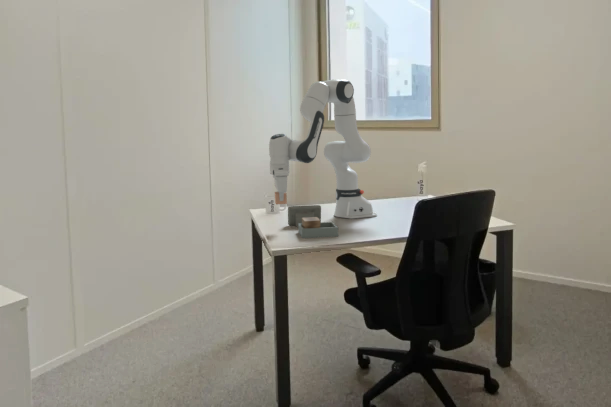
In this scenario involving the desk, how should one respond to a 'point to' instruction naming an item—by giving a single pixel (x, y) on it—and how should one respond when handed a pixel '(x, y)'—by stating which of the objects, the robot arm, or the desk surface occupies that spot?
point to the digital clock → (302, 213)
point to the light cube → (279, 200)
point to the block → (311, 222)
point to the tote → (319, 230)
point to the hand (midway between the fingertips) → (280, 199)
